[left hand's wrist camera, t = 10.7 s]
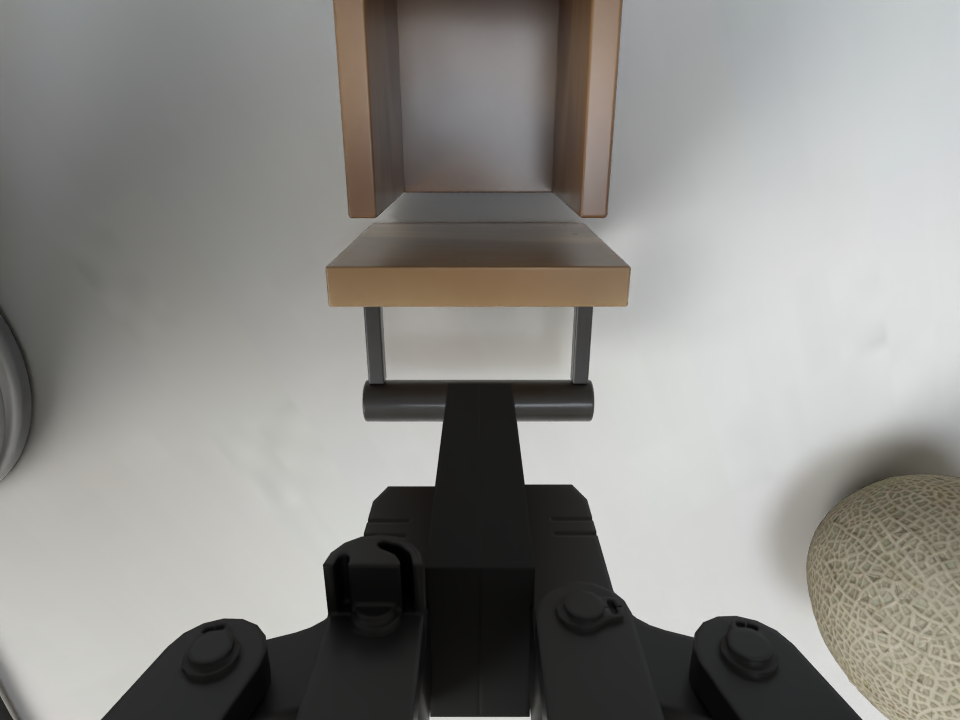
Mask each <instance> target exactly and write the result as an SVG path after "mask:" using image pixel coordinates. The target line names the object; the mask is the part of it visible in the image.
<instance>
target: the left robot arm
mask: <svg viewBox="0 0 960 720" xmlns="http://www.w3.org/2000/svg"><path fill="white" fill-rule="evenodd" d="M31 408H32V401H31V389H30V384H29V379H28V374H27V370H26V367H25V363H24V360H23V357H22V355H21V352H20V350H19V347H18V345H17V342H16V341H15V339H14V337H13V335H12V333H11V331H10V329H9V327H8V325H7V324H6V322H5V320H4V319H3V317H2V316H1V314H0V481H1V480H2V479H3V478H4V477H5V476H6V475H7V474H8V473H9V472H10V470H11V469H12V468H13V467H14V465H15V464H16V462H17V460H18V458H19V457H20V455H21V453H22V451H23V448H24V446H25V444H26V440H27V437H28V433H29V429H30V422H31ZM323 569H324V579H325V588H326V598H327V607H328V617H327V618H326V619H325V620H324V621H322V622H320V623H318V624H316V625H314V626H312V627H311V628H308V629H305V630H302V631H299V632H296V633H292V634H288V635H284V636H280V637H276V638H272V639H268V640H266V636H265V634H264V633H263V632H262V631H261V629H260V628H259V627H258V626H257V625H256V624H253V623H251V622H249V621H246V620H244V619H220V620H216V621H212V622H207V623H203V624H201V625H199V626H197V627H195V628H193V629H191V630H189V631H187V632H185V633H184V634H182V635H181V636H180V637H179V638H178V639H176V640H175V641H174V642H173V643H172V644H170V645H169V646H168V647H167V648H166V649H165V650H164V651H163V652H162V654H161V655H160V656H159V657H158V658H157V659H156V660H155V661H154V662H153V663H152V665H151V666H150V667H149V668H148V669H147V670H146V671H145V672H144V673H143V674H142V675H141V677H140V678H139V679H138V680H137V681H136V682H135V683H134V684H133V685H132V686H131V688H130V689H129V690H128V691H127V692H126V693H125V694H124V695H123V696H122V697H121V698H120V700H119V701H118V702H117V703H116V704H115V705H114V706H113V707H112V708H111V709H110V710H109V712H108V713H107V714H106V715H105V716H104V717H103V718H102V719H101V720H429V716H430V717H530V713H531V720H862V719H861V718H860V717H859V716H858V714H857V713H856V712H855V711H854V710H853V709H852V708H851V707H850V706H849V705H848V704H847V702H846V701H845V700H844V699H843V698H842V697H841V696H840V695H839V694H838V693H837V692H836V690H835V689H834V688H833V687H832V686H831V685H830V684H829V683H828V682H827V681H826V680H825V679H824V677H823V676H822V675H821V674H820V673H819V672H818V671H817V670H816V669H815V668H814V667H813V665H812V664H811V663H810V662H809V661H808V660H807V659H806V658H805V657H804V656H803V655H802V653H801V652H800V651H799V650H798V649H797V648H796V647H795V646H794V645H793V644H792V643H791V642H790V641H789V640H787V639H786V638H785V637H784V636H782V635H781V634H780V633H779V632H778V631H776V630H774V629H772V628H770V627H768V626H766V625H764V624H762V623H760V622H758V621H755V620H751V619H747V618H743V617H739V616H719V617H715V618H713V619H711V620H708V621H706V622H703V623H702V625H701V626H700V627H699V629H698V630H697V631H696V632H695V636H694V637H690V636H686V635H682V634H678V633H674V632H670V631H666V630H663V629H660V628H657V627H654V626H651V625H648V624H647V623H645V622H643V621H641V620H639V619H637V618H636V617H634V616H633V615H632V613H631V611H630V610H629V608H628V606H627V604H626V603H625V601H624V600H623V599H622V598H620V597H619V596H618V595H617V594H615V593H614V591H613V588H612V585H611V581H610V578H609V574H608V571H607V567H606V564H605V560H604V557H603V553H602V550H601V546H600V543H599V540H598V536H597V535H596V529H595V526H594V522H593V521H592V515H591V512H590V508H589V505H588V501H587V499H586V498H585V497H584V496H583V495H582V494H581V493H580V492H579V491H578V490H577V489H576V488H575V487H574V486H573V485H525V483H524V475H523V468H522V460H521V452H520V444H519V436H518V428H517V420H516V412H515V404H514V396H513V388H512V383H448V388H447V396H446V404H445V412H444V420H443V428H442V436H441V444H440V452H439V460H438V467H437V475H436V483H435V486H388V487H387V488H386V489H385V490H384V491H383V492H382V493H381V494H380V495H379V496H378V497H377V498H376V499H375V500H374V501H373V504H372V507H371V511H370V514H369V518H368V523H367V525H366V528H365V532H364V536H363V537H360V538H357V539H354V540H351V541H349V542H346V543H344V544H343V545H341V546H340V547H338V548H337V549H336V550H334V551H333V552H331V554H330V555H329V557H328V558H327V560H326V561H325V563H324V564H323ZM0 720H13V719H12V717H11V715H10V713H9V712H8V710H7V708H6V706H5V704H4V702H3V700H2V699H1V697H0Z"/></svg>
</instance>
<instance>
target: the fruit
mask: <svg viewBox="0 0 960 720" xmlns="http://www.w3.org/2000/svg"><path fill="white" fill-rule="evenodd" d="M807 582H808V590H809V596H810V600H811V604H812V609H813V613H814V616H815V619H816V622H817V625H818V628H819V630H820V633H821V635H822V637H823V640H824V642H825V644H826V646H827V647H828V649H829V651H830V652H831V654H832V655H833V657H834V658H835V660H836V662H837V663H838V665H839V666H840V667H841V669H842V670H843V671H844V673H845V674H846V675H847V677H848V679H849V681H850V682H851V683H852V684H853V685H854V686H855V687H856V688H857V689H858V691H859V692H860V693H861V694H862V695H863V696H864V697H865V698H866V699H867V700H868V701H869V702H870V703H871V704H872V705H873V706H874V707H875V708H877V709H878V710H879V711H880V712H881V713H882V714H883V715H884V716H885V717H887V718H888V719H889V720H960V478H959V477H951V476H945V475H937V474H914V475H904V476H895V477H889V478H887V479H884V480H881V481H878V482H875V483H872V484H870V485H868V486H866V487H864V488H862V489H860V490H858V491H856V492H854V493H853V494H851V495H849V496H848V497H846V498H845V499H843V500H842V501H841V502H840V503H838V504H837V505H836V506H835V507H834V508H833V509H832V510H831V511H830V512H829V513H828V514H827V515H826V516H825V518H824V519H823V521H822V522H821V523H820V525H819V526H818V528H817V529H816V531H815V533H814V536H813V539H812V541H811V544H810V548H809V552H808V557H807Z"/></svg>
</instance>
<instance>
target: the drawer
mask: <svg viewBox="0 0 960 720" xmlns="http://www.w3.org/2000/svg"><path fill="white" fill-rule="evenodd" d="M622 3H623V0H333V6H334V20H335V34H336V47H337V61H338V75H339V89H340V102H341V116H342V130H343V143H344V157H345V171H346V185H347V198H348V212H349V217H350V218H376V217H377V216H378V215H379V214H381V213H382V212H383V211H384V210H385V209H386V208H387V207H388V206H389V205H390V204H392V203H393V202H394V201H395V200H396V199H397V198H398V197H399V196H400V195H401V194H403V193H404V192H553V193H554V194H556V195H557V196H558V197H559V198H560V199H561V200H562V201H563V202H564V203H565V204H566V205H568V206H569V207H570V208H571V209H572V210H573V211H574V212H575V213H576V214H577V215H579V216H580V217H582V218H605V217H607V214H608V200H609V186H610V172H611V158H612V144H613V130H614V116H615V102H616V88H617V74H618V60H619V46H620V32H621V17H622ZM630 271H631V268H630V266H629V265H628V264H627V263H626V262H625V261H623V260H622V259H621V258H620V257H619V256H618V255H617V254H616V253H615V252H614V251H613V250H612V249H611V248H610V247H609V246H607V245H606V244H605V243H604V242H603V241H602V240H601V239H600V238H599V237H598V236H597V235H596V234H595V233H594V232H593V231H592V230H590V229H589V228H588V227H587V226H586V225H585V224H584V223H373V224H372V225H370V226H369V227H368V228H367V229H366V230H365V231H364V232H363V233H362V234H361V235H360V236H359V237H358V238H357V239H356V240H354V241H353V242H352V243H351V244H350V245H349V246H348V247H347V248H346V249H345V250H344V251H343V252H342V253H341V254H339V255H338V256H337V257H336V258H335V259H334V260H333V261H332V262H331V263H330V264H329V265H328V266H327V267H326V279H327V290H328V301H329V306H331V307H364V319H365V333H366V348H367V363H368V377H369V380H367V381H366V382H365V385H364V389H363V414H364V418H365V420H366V421H443V420H444V412H445V404H446V396H447V388H448V383H512V388H513V396H514V404H515V412H516V420H517V421H591V420H592V417H593V413H594V390H593V385H592V382H591V381H590V380H588V374H589V359H590V344H591V329H592V314H593V307H625V306H627V305H628V295H629V283H630ZM382 307H574V324H573V342H572V360H571V380H386V363H385V346H384V328H383V311H382Z"/></svg>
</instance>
